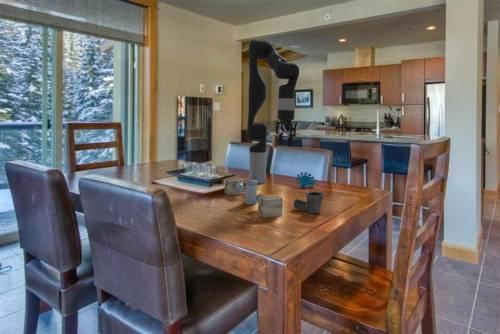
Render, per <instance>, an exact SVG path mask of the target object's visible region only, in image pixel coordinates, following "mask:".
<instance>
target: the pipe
mask: <svg viewBox="0 0 500 334" xmlns="http://www.w3.org/2000/svg"><path fill="white" fill-rule="evenodd" d="M305 195H306V200H304V199H303V200H302V199H299V198H295V200H294V201H293V207H294V208H295V209H297V210H301V211H304V212H307V213H309V214H314V215H318V214H320V213H321V211H322V209H321V208H322V202H323V199H324V197H325V194H324V192H319V191H309V192H306V193H305Z"/></svg>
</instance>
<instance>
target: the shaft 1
mask: <svg viewBox="0 0 500 334" xmlns="http://www.w3.org/2000/svg"><path fill="white" fill-rule="evenodd" d="M233 188H234V189H235V190H237V191H239V192H244V193H245V192H246V185H245V184H244V185H242V184H240V183H238V182H234V183H233Z"/></svg>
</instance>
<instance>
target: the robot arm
mask: <svg viewBox="0 0 500 334" xmlns="http://www.w3.org/2000/svg"><path fill="white" fill-rule="evenodd" d="M259 60H260V61H265V60H267V61H266V62H267V64H268V67H269V68H270V69H272V71H273V72H274V75H275V77H276V78H277V79H280V80H287V83H286V84H282V85H279V87H278V100H277V118H276V119H277V120H278V121H276V122H275V135H277V137H278V138H277V144H278V145H283V144H284V134H285V135H286V136H287V141H286V142H287V143H286V147H292V146H293V139H294V137H295V138H296V137H297V123H296V122H293V121H294V120H295V109H296V108H295V106H296V104H295V103H296V101H295V93H296V92H295V89H296V86H297V82H298V79H299V75H300V67H299V65H298V63H295V62H288V61H287V59H285V57H283V56H282V55H280V54H279V53H278V52H277V50H276V49H275V48H274V46H273V45H272V43H271V42H270V41H268V40H251V41H250V42H249V44H248V65H249V66H248V69H249V70H248V71H249V78H248V79H249V80H248V111H247V112H248V113H247V124H246V125H247V126H246V135H247V139H248V140H260V141H258V143H255V144H254V145H250V146H249V166H248V167H249V168H248V169H249V172H248V173H249V177H248V178H249V179H248V180H257V181H258V184H260V185H261V184H265V183H267V180H266V179H267V139H268V138H267V136H268V126H267V123H266V122H254V121H255V119H256V116H257V114H258V112H259V110H260V109H261V107H262V106H263V105H264V104H265V101H266V98H267V85H266V82H265V80H264V79H263V76H262V74H261V73H260V71H259V67H258V61H259ZM258 184H257V185H258Z"/></svg>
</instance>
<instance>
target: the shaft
mask: <svg viewBox="0 0 500 334" xmlns="http://www.w3.org/2000/svg"><path fill="white" fill-rule="evenodd" d="M263 196H265V195H264V194H262V193H257V196H256V201H257V203H258V197H263Z"/></svg>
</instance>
